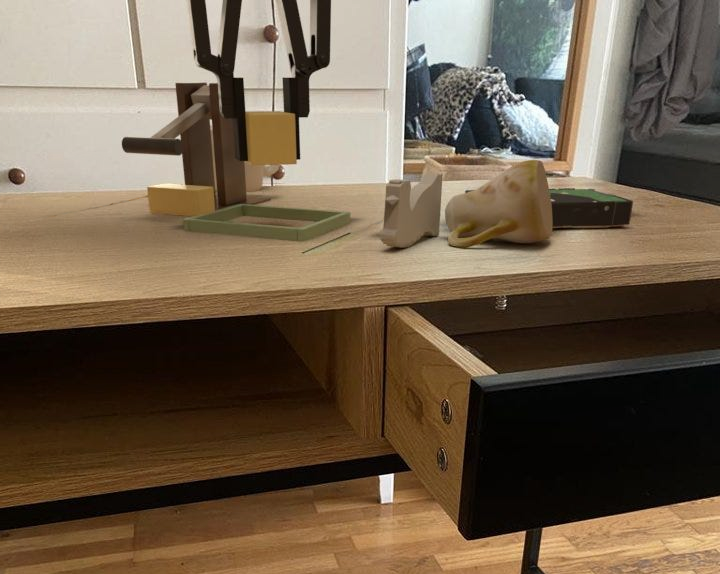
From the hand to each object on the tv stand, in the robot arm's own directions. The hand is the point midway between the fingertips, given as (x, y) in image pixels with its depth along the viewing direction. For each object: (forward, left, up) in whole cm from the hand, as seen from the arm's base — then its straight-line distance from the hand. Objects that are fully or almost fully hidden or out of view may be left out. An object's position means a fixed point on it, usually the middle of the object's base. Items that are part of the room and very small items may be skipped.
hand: (267, 158), depth 69 cm
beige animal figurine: (+13, +3, -7) cm, 15 cm away
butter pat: (0, 0, 0) cm, 0 cm away
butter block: (-12, +3, -7) cm, 14 cm away
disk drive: (+22, +20, -7) cm, 30 cm away
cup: (-16, +23, -7) cm, 29 cm away
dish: (0, 0, -7) cm, 7 cm away
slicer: (-12, +10, -7) cm, 17 cm away
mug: (+20, +7, -7) cm, 22 cm away
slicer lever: (-12, +6, +1) cm, 13 cm away
